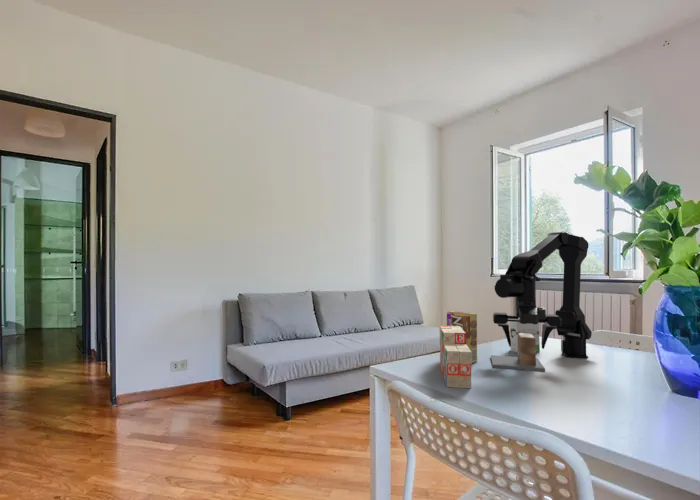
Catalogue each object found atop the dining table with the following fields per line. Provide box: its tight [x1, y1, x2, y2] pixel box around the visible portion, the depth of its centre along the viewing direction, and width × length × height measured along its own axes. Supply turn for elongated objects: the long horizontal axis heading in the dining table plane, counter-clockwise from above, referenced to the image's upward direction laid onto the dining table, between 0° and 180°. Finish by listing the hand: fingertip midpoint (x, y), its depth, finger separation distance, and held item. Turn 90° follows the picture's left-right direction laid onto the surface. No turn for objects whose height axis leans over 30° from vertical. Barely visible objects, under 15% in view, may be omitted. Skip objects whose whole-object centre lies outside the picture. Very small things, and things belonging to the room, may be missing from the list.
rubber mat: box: [490, 354, 546, 372], centre depth 117 cm, size 14×12×1 cm
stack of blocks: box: [439, 325, 473, 389], centre depth 106 cm, size 21×6×12 cm, turn 171°
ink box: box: [509, 321, 541, 354], centre depth 134 cm, size 9×5×12 cm, turn 99°
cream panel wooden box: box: [517, 333, 537, 366], centre depth 117 cm, size 4×7×8 cm, turn 163°
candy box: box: [446, 310, 478, 364], centre depth 122 cm, size 9×4×15 cm, turn 39°
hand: (526, 347), depth 117 cm, fingers open, 9 cm apart
